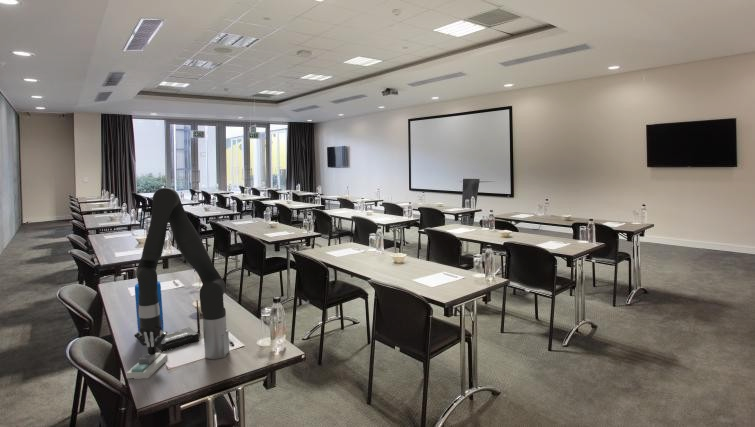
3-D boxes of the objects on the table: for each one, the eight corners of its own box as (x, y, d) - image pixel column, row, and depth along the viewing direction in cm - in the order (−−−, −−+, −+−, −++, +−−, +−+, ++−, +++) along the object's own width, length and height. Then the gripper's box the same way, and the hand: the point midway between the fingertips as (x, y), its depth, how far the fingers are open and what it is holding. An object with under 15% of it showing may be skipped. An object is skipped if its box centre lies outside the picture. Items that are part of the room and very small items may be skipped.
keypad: (167, 359, 181) (167, 353, 181) (148, 378, 165) (147, 372, 165) (148, 359, 181) (148, 353, 180) (127, 378, 165) (126, 372, 165)
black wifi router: (164, 353, 186) (161, 315, 184) (152, 344, 196) (150, 308, 194) (209, 340, 201) (207, 304, 199) (196, 331, 210) (194, 297, 208)
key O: (148, 371, 170) (147, 364, 170) (142, 376, 166) (142, 368, 166) (137, 371, 170) (137, 364, 169) (132, 376, 166) (131, 369, 166)
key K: (160, 359, 180) (160, 352, 179) (155, 364, 176) (155, 357, 175) (150, 359, 180) (150, 352, 179) (145, 364, 176) (145, 357, 175)
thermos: (150, 340, 200) (147, 288, 196) (133, 337, 203) (129, 286, 200) (169, 331, 210) (165, 281, 207) (151, 329, 213) (148, 280, 210)
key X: (154, 361, 175) (153, 354, 174) (149, 366, 171) (148, 359, 170) (144, 361, 175) (143, 354, 174) (139, 366, 171) (138, 359, 170)
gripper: (170, 310, 179) (172, 350, 181) (138, 311, 179) (141, 350, 181) (161, 317, 171) (164, 358, 174) (128, 317, 171) (131, 359, 174)
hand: (152, 354), depth 177 cm, fingers closed
